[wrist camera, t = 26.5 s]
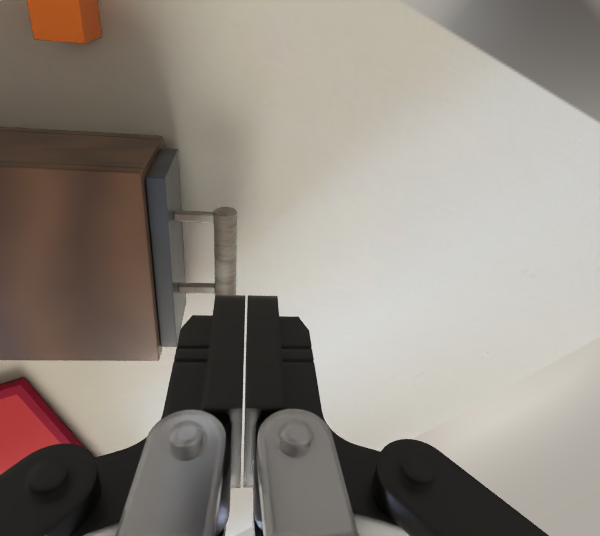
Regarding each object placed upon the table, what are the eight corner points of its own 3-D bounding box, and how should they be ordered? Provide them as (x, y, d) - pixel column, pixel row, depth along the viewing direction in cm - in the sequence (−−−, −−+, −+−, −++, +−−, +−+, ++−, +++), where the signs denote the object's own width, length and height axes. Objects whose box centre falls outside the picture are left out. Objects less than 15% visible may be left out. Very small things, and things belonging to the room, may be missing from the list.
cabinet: (162, 135, 33) (140, 172, 27) (173, 301, 41) (159, 361, 35) (-138, 118, 31) (-240, 154, 25) (-68, 297, 39) (-132, 360, 32)
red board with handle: (55, 566, 61) (163, 536, 60) (47, 589, 58) (159, 559, 57) (-116, 417, 45) (26, 374, 44) (-136, 441, 43) (13, 395, 42)
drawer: (239, 152, 34) (236, 181, 29) (236, 302, 41) (234, 347, 36) (-106, 133, 31) (-174, 161, 26) (-46, 298, 38) (-90, 345, 33)
